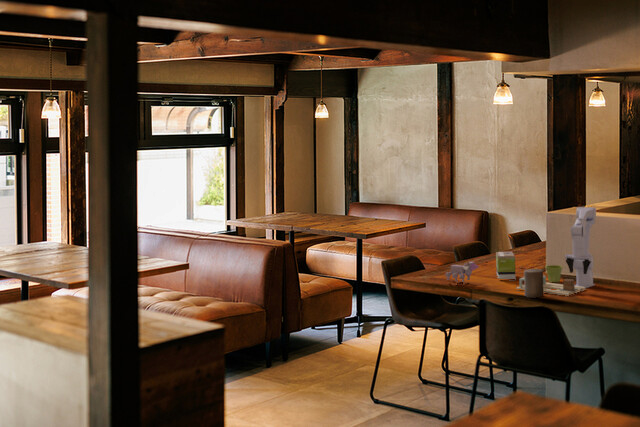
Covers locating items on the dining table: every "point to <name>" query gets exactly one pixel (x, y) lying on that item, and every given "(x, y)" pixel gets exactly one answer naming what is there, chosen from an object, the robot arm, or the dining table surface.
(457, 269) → the toy sheep
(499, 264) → the tea box
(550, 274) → the plant pot
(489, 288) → the dining table surface
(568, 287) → the walnut block
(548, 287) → the puzzle board
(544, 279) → the sled cover
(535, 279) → the pillar candle
